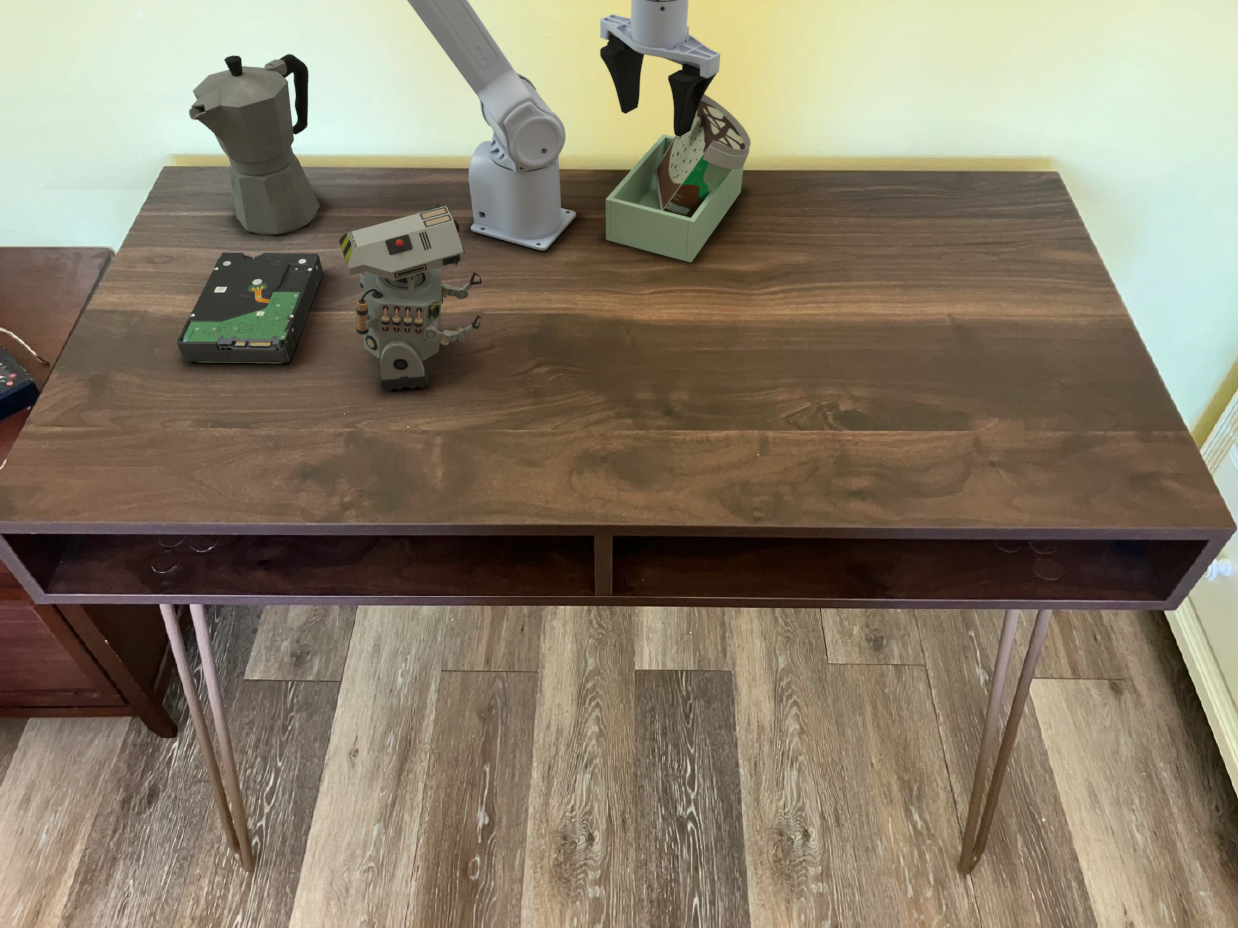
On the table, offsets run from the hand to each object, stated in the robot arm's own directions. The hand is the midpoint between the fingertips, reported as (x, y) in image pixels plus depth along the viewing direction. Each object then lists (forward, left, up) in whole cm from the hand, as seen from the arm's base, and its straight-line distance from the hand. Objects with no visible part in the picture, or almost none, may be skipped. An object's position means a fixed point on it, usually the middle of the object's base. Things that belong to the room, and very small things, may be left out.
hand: (655, 120), depth 103 cm
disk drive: (-27, -37, -10) cm, 47 cm away
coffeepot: (-37, -20, -10) cm, 44 cm away
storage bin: (+4, -2, -10) cm, 10 cm away
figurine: (-8, -35, -10) cm, 37 cm away
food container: (+4, -2, -8) cm, 9 cm away
